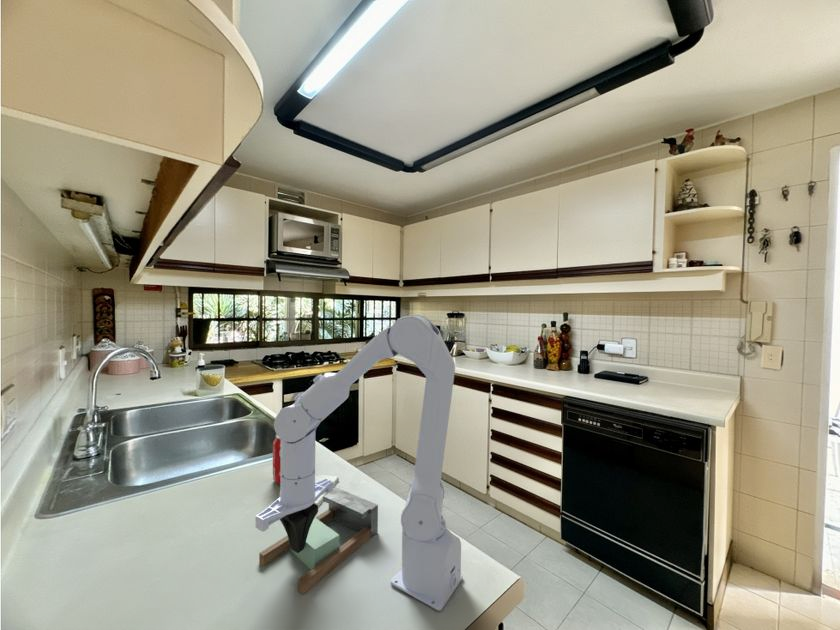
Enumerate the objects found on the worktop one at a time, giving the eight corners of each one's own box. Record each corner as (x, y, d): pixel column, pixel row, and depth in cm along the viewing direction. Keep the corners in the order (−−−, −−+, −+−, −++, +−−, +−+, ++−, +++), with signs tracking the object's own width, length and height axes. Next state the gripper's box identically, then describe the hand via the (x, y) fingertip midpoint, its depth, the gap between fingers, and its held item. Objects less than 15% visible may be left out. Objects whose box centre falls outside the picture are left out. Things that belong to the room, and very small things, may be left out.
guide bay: (377, 532, 69) (377, 504, 69) (303, 594, 54) (304, 559, 54) (335, 512, 75) (335, 487, 75) (259, 562, 60) (259, 531, 60)
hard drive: (309, 473, 91) (284, 499, 78) (338, 476, 89) (317, 502, 77) (309, 479, 91) (284, 506, 78) (338, 482, 89) (317, 509, 77)
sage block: (339, 556, 62) (339, 534, 62) (314, 572, 58) (314, 549, 58) (314, 537, 67) (314, 517, 67) (290, 550, 63) (290, 529, 63)
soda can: (307, 478, 90) (307, 433, 90) (284, 489, 84) (284, 441, 84) (290, 470, 94) (290, 427, 94) (266, 481, 88) (267, 435, 88)
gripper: (315, 451, 68) (315, 519, 68) (244, 482, 55) (244, 565, 56) (341, 460, 64) (340, 532, 64) (271, 496, 52) (270, 584, 52)
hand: (297, 548), depth 60 cm, fingers closed
